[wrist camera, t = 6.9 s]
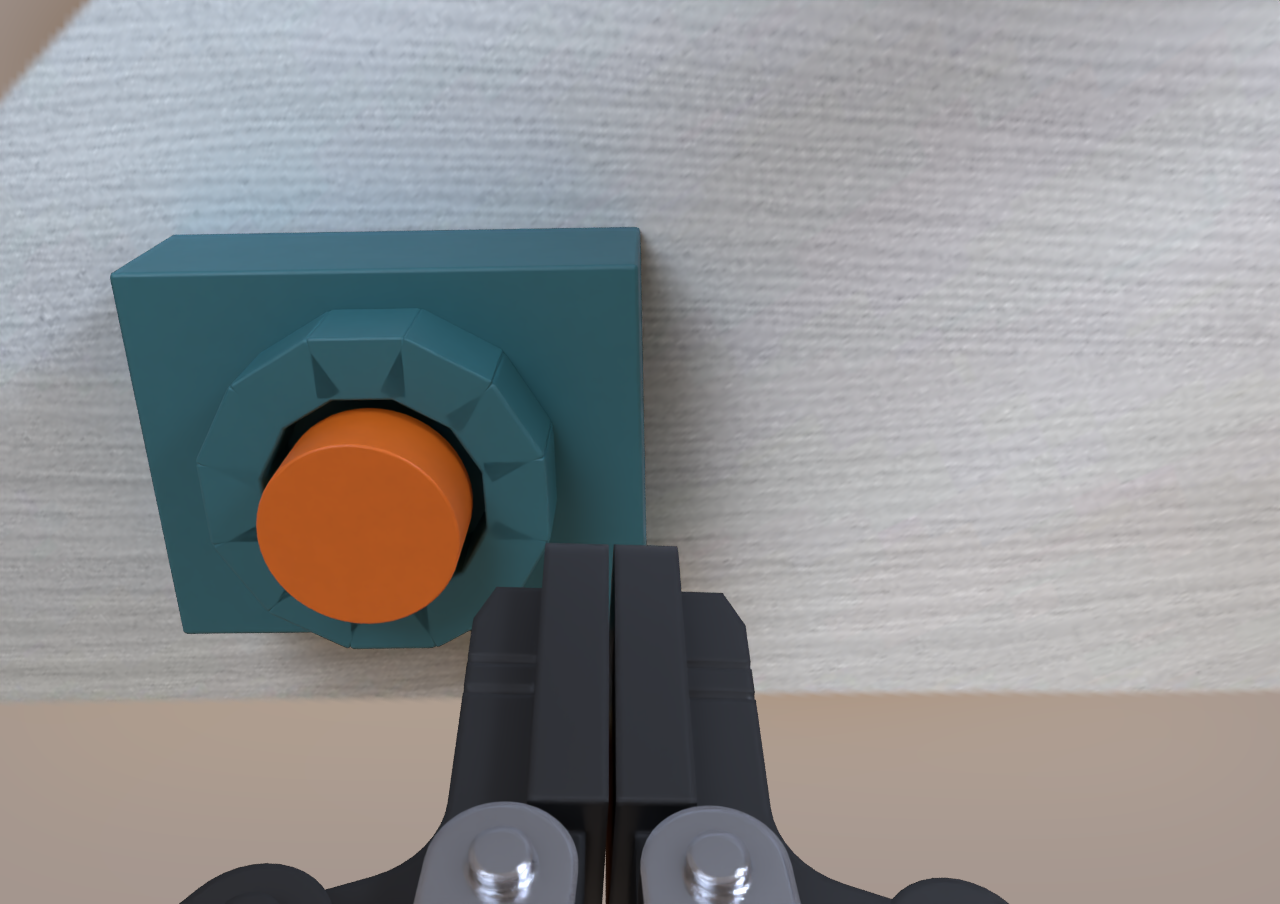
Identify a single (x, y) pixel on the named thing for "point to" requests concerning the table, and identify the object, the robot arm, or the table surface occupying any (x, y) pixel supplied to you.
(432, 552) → the power button
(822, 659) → the table surface
